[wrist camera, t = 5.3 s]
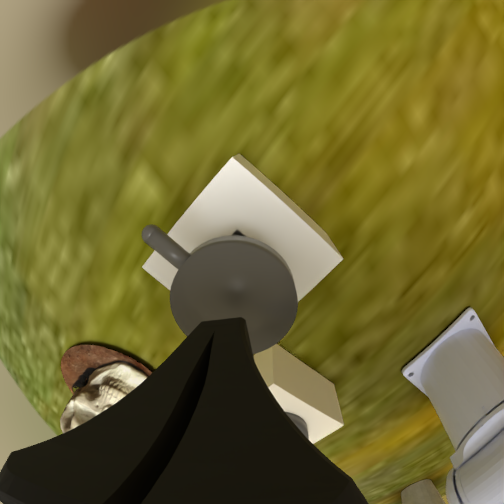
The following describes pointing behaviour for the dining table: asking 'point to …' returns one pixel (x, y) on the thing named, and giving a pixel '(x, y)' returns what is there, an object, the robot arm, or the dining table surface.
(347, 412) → the dining table surface
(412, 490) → the house plant
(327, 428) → the off-white square plinth
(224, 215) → the square base with knob
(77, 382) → the skull
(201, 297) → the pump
